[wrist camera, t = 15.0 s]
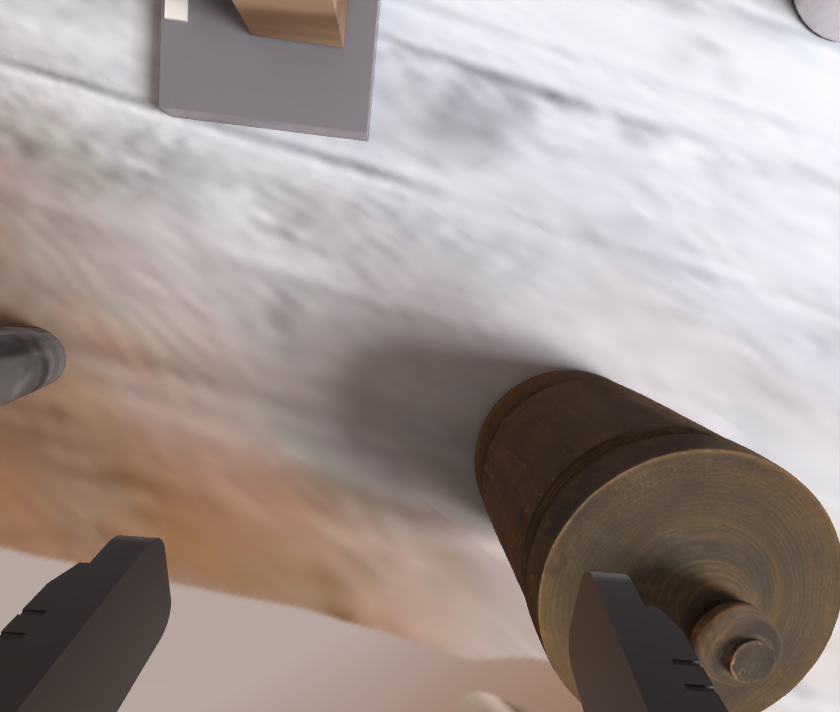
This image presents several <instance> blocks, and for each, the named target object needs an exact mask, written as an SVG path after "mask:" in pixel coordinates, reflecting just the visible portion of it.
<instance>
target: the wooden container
mask: <svg viewBox="0 0 840 712" xmlns="http://www.w3.org/2000/svg"><path fill="white" fill-rule="evenodd" d="M475 472H476V478H477V483H478V487H479V490H480V493H481V495H482V498H483V501H484V503H485V506H486V509H487V512H488V515H489V517H490V520H491V522H492V525H493V527H494V529H495V532H496V534H497V536H498V539H499V541H500V543H501V545H502V548H503V550H504V552H505V554H506V556H507V559H508V561H509V563H510V565H511V567H512V569H513V571H514V574H515V576H516V578H517V581H518V583H519V585H520V587H521V590H522V592H523V594H524V596H525V599H526V603H527V607H528V610H529V613H530V616H531V619H532V621H533V624H534V627H535V630H536V632H537V634H538V637H539V639H540V642H541V644H542V646H543V649H544V651H545V653H546V655H547V657H548V659H549V661H550V663H551V665H552V667H553V669H554V670H555V672H556V674H557V675H558V677H559V678H560V680H561V681H562V683H563V684H564V685H565V686H566V688H567V689H568V690H569V691H570V692H571V693H572V694H573V695H574V696H575V697H576V698H577V699H578V700H579V701H580V702H581V700H580V696H579V693H578V690H577V686H576V683H575V679H574V676H573V672H572V668H571V664H570V657H569V631H570V626H571V622H572V617H573V613H574V608H575V604H576V599H577V595H578V591H579V586H580V582H581V578H582V575H583V574H584V572H586V571H590V572H604V573H617V574H626V575H628V576H629V577H630V579H631V580H632V582H633V584H634V586H635V588H636V590H637V592H638V594H639V596H640V598H641V600H642V602H643V604H644V606H654V607H659V608H660V609H661V610H662V611H663V612H664V613H665V614H666V615H667V616H668V617H669V618H670V619H671V620H672V621H673V622H674V623H675V624H676V625H677V626H678V627H679V628H680V629H681V630H682V631H683V632H684V634H685V636H686V638H687V639H688V641H689V643H690V645H691V646H692V648H693V650H694V652H695V654H696V655H697V657H698V659H699V661H700V666H701V667H703V668H704V670H705V671H706V673H707V675H708V677H709V678H710V680H711V682H712V684H713V686H714V691H715V693H718V694H719V696H720V698H721V700H722V702H723V703H724V705H725V707H726V709H727V710H728V712H761V711H763V710H765V709H766V708H768V707H769V706H771V705H772V704H774V703H775V702H777V701H778V700H780V699H781V698H782V697H784V696H785V695H786V694H787V693H789V692H790V691H791V690H792V689H793V688H794V687H795V686H796V685H797V684H798V683H799V682H800V681H801V680H802V679H803V678H804V676H805V675H806V674H807V673H808V672H809V670H810V669H811V668H812V667H813V665H814V664H815V663H816V661H817V660H818V659H819V657H820V655H821V654H822V652H823V650H824V649H825V647H826V644H827V643H828V641H829V639H830V637H831V635H832V631H833V629H834V626H835V624H836V621H837V618H838V615H839V611H840V543H839V540H838V537H837V534H836V531H835V528H834V526H833V524H832V522H831V520H830V518H829V516H828V514H827V512H826V511H825V509H824V508H823V506H822V505H821V503H820V502H819V501H818V499H817V498H816V497H815V496H814V495H813V493H812V492H811V491H810V490H809V489H808V488H807V487H806V486H805V485H803V484H802V483H801V482H800V481H799V480H798V479H797V478H795V477H794V476H793V475H792V474H790V473H789V472H787V471H786V470H784V469H783V468H781V467H780V466H778V465H776V464H775V463H773V462H771V461H770V460H768V459H766V458H765V457H763V456H761V455H759V454H758V453H756V452H754V451H752V450H750V449H748V448H746V447H744V446H742V445H739V444H737V443H735V442H733V441H731V440H729V439H726V438H724V437H722V436H720V435H718V434H716V433H714V432H713V431H711V430H709V429H707V428H705V427H703V426H701V425H699V424H697V423H695V422H694V421H691V420H690V419H688V418H686V417H684V416H682V415H680V414H678V413H677V412H675V411H673V410H671V409H669V408H667V407H665V406H663V405H661V404H659V403H657V402H655V401H653V400H652V399H650V398H648V397H646V396H644V395H642V394H640V393H637V392H635V391H633V390H631V389H629V388H626V387H624V386H622V385H620V384H617V383H615V382H613V381H611V380H609V379H607V378H604V377H602V376H599V375H595V374H592V373H587V372H582V371H555V372H550V373H546V374H542V375H539V376H536V377H534V378H531V379H529V380H527V381H525V382H523V383H521V384H519V385H518V386H516V387H515V388H513V389H512V390H511V391H509V392H508V393H507V394H506V395H505V396H504V397H503V398H501V399H500V401H499V402H498V403H497V404H496V405H495V407H494V408H493V409H492V411H491V412H490V413H489V415H488V417H487V418H486V420H485V422H484V424H483V426H482V429H481V431H480V434H479V438H478V441H477V446H476V453H475Z"/></svg>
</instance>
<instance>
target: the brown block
mask: <svg viewBox="0 0 840 712" xmlns="http://www.w3.org/2000/svg"><path fill="white" fill-rule="evenodd" d="M232 1H233V3H234V5H235V6H236V8H237V10H238V12H239V13H240V15H241V17H242V18H243V20H244V22H245V24H246V25H247V27H248V29H249V31H250V32H251V34H252V35H255V36H262V37H269V38H277V39H284V40H291V41H299V42H306V43H313V44H320V45H328V46H335V47H342V48H343V46H344V34H345V21H346V8H347V0H232Z"/></svg>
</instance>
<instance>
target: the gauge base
mask: <svg viewBox="0 0 840 712" xmlns="http://www.w3.org/2000/svg"><path fill="white" fill-rule="evenodd" d="M379 12H380V0H347V8H346V21H345V34H344V46H343V48H342V47H335V46H328V45H320V44H313V43H306V42H299V41H291V40H284V39H277V38H269V37H262V36H255V35H252V34H251V32H250V31H249V29H248V27H247V25H246V24H245V22H244V20H243V18H242V17H241V15H240V13H239V12H238V10H237V8H236V6H235V5H234V3H233V1H232V0H162V3H161V37H160V72H159V106H158V107H159V108H161V109H162V110H163V111H165V112H166V113H167V114H169V115H170V116H171V117H178V118H186V119H194V120H202V121H210V122H218V123H226V124H234V125H242V126H250V127H258V128H266V129H274V130H282V131H290V132H298V133H306V134H314V135H322V136H330V137H338V138H346V139H354V140H362V141H368V139H369V127H370V115H371V104H372V92H373V81H374V69H375V58H376V46H377V35H378V23H379Z"/></svg>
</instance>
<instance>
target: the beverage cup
mask: <svg viewBox="0 0 840 712" xmlns="http://www.w3.org/2000/svg"><path fill="white" fill-rule="evenodd" d="M65 360H66V356H65V353H64V349H63V347H62V345H61V344H60V342H59V340H58V339H57V338H56V337H55V336H53V335H52V334H51V333H50V332H47V331H45V330H43V329H40V328H34V327H28V328H25V327H16V326H0V406H2V405H4V404H7V403H9V402H11V401H14V400H16V399H18V398H20V397H23V396H25V395H27V394H30V393H32V392H34V391H36V390H38V389H40V388H42V387H43V386H45V385H48V384H50V383H52V382H54V381H56V380H57V379H58V377H59V376H60V375H61V374H62V372H63V370H64V367H65Z"/></svg>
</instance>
